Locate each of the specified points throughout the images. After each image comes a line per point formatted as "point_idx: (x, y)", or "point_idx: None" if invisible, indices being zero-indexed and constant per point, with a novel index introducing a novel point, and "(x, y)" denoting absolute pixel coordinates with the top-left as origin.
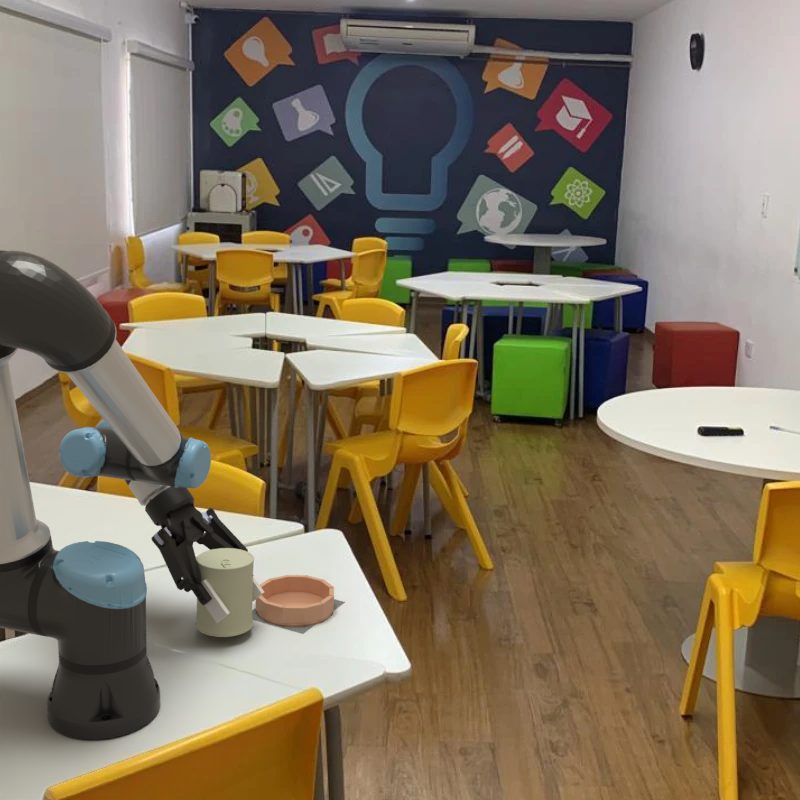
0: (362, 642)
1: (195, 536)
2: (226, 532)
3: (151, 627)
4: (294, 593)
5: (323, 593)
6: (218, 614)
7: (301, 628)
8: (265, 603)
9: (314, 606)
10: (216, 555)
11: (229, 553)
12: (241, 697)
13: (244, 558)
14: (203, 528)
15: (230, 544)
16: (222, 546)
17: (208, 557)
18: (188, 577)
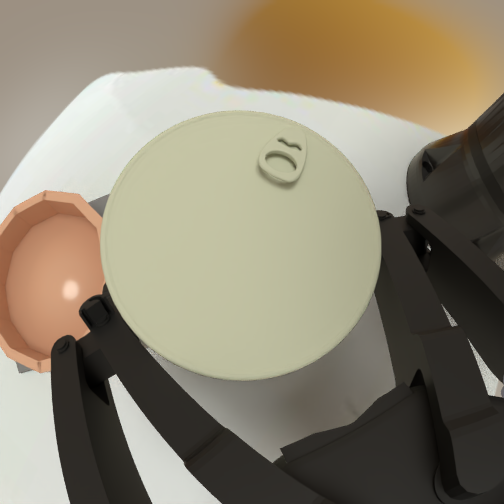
0: (77, 132)
1: (373, 414)
2: (85, 442)
3: (333, 408)
4: (25, 330)
5: (2, 272)
6: None
7: (102, 209)
8: None
9: (60, 193)
10: (260, 289)
11: (182, 275)
12: (314, 117)
13: (166, 176)
14: (290, 476)
15: (97, 404)
16: (165, 372)
17: (311, 289)
18: (421, 208)
